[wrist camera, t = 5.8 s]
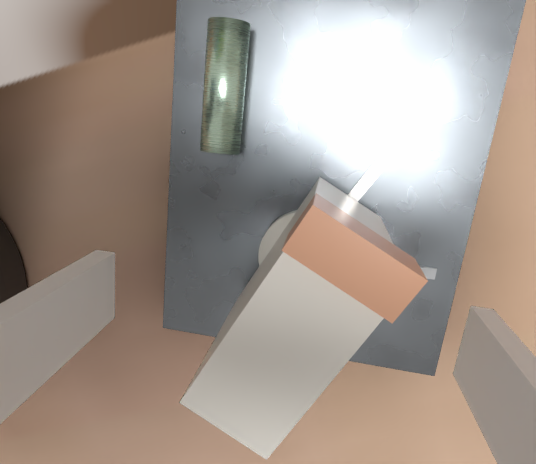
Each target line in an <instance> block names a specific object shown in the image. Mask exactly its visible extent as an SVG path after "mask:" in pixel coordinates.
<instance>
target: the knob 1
mask: <svg viewBox="0 0 536 464" xmlns="http://www.w3.org/2000/svg"><path fill="white" fill-rule="evenodd" d="M258 262H259V267H258V269H257V270H256V272H255V273H254V275H253V276H252V278H251V279H250V281H249V282H248V284H247V285H246V287H245V288H244V290H243V291H242V293H241V294H240V296H239V297H238V299H237V300H236V302H235V304H234V306H233V308H232V309H231V311H230V313H229V315H228V316H227V318H226V320H225V322H224V324H223V325H222V327H221V329H220V331H219V333H218V334H217V336H216V338H215V340H214V341H213V343H212V345H211V347H210V349H209V350H208V352H207V354H206V356H205V358H204V359H203V361H202V363H201V365H200V367H199V368H198V370H197V372H196V374H195V375H194V377H193V379H192V381H191V383H190V384H189V386H188V388H187V390H186V392H185V393H184V395H183V397H182V399H181V401H180V402H179V403H181V404H182V405H184V406H185V407H187V408H188V409H190V410H191V411H193V412H194V413H196V414H197V415H199V416H200V417H202V418H203V419H205V420H207V421H208V422H210V423H211V424H213V425H214V426H216V427H217V428H219V429H220V430H222V431H223V432H225V433H226V434H228V435H229V436H231V437H233V438H234V439H236V440H237V441H239V442H240V443H242V444H243V445H245V446H246V447H248V448H249V449H251V450H252V451H254V452H255V453H257V454H258V455H260V456H262V457H263V458H265V459H266V460H267V459H268V457H269V456H270V455H271V454H272V453H273V451H274V450H275V449H276V448H277V447H278V445H279V444H280V443H281V442H282V441H283V439H284V438H285V437H286V436H287V435H288V433H289V432H290V431H291V430H292V428H293V427H294V426H295V425H296V424H297V422H298V421H299V420H300V419H301V418H302V416H303V415H304V414H305V413H306V412H307V410H308V409H309V408H310V407H311V406H312V404H313V403H314V402H315V401H316V399H317V398H318V397H319V396H320V395H321V393H322V392H323V391H324V390H325V389H326V387H327V386H328V385H329V384H330V383H331V381H332V380H333V379H334V378H335V377H336V375H337V374H338V373H339V372H340V371H341V369H342V368H343V367H344V366H345V364H346V363H347V362H348V361H349V360H350V358H351V357H352V356H353V355H354V354H355V352H356V351H357V350H358V349H359V348H360V346H361V345H362V344H363V343H364V342H365V340H366V339H367V338H368V337H369V336H370V334H371V333H372V332H373V331H374V329H375V328H376V327H377V326H378V325H379V323H380V322H381V321H382V320H383V319H386V320H388V321H389V322H391V323H393V322H394V321H395V320H396V319H397V317H398V316H399V315H400V314H401V313H402V311H403V310H404V309H405V308H406V307H407V306H408V304H409V303H410V302H411V301H412V300H413V298H414V297H415V296H416V295H417V294H418V292H419V291H420V290H421V289H422V288H423V286H424V285H425V284H426V283H427V282H428V280H427V278H426V277H425V275H424V273H423V271H422V270H421V268H420V266H419V265H418V263H417V261H416V260H415V258H413V257H412V256H410V255H409V254H407V253H406V252H404V251H403V250H401V249H400V248H398V247H397V246H395V245H394V244H393V242H392V240H391V238H390V236H389V234H388V231H387V229H386V227H385V225H384V223H383V221H382V219H381V217H380V216H378V215H377V214H375V213H374V212H372V211H371V210H369V209H368V208H366V207H365V206H363V205H362V204H360V203H359V202H357V201H356V200H354V199H353V198H351V197H350V196H348V195H347V194H345V193H344V192H342V191H341V190H339V189H338V188H336V187H335V186H333V185H332V184H330V183H329V182H327V181H325V180H324V179H322V178H321V177H319V179H318V180H317V182H316V183H315V185H314V186H313V188H312V189H311V191H310V192H309V194H308V195H307V196H306V198H305V199H304V201H303V202H302V204H301V205H300V207H299V208H298V210H295V211H291V212H288V213H286V214H284V215H282V216H281V217H279V218H278V219H277V220H276V221H275V222H274V223H272V225H271V226H270V227H269V229H268V230H267V232H266V233H265V235H264V237H263V238H262V241H261V243H260V247H259V253H258Z"/></svg>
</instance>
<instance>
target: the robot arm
mask: <svg viewBox="0 0 536 464" xmlns="http://www.w3.org/2000/svg"><path fill="white" fill-rule="evenodd" d="M114 318H115V252H108V251H101V250H95V251H93V252H91V253H90V254H88V255H86V256H84V257H82V258H81V259H79V260H77V261H75V262H74V263H72V264H70V265H68V266H66V267H65V268H63V269H61V270H59V271H58V272H56V273H54V274H52V275H50V276H49V277H47V278H45V279H43V280H42V281H40V282H38V283H36V284H34V285H33V286H31V287H29V288H27V283H26V276H25V271H24V267H23V263H22V260H21V257H20V254H19V251H18V249H17V247H16V244H15V242H14V240H13V238H12V236H11V234H10V233H9V231H8V229H7V228H6V226H5V225H4V223H3V222H2V220H1V219H0V424H1V423H2V422H3V421H4V420H5V419H6V418H7V417H9V416H10V415H11V414H12V413H13V412H14V411H15V410H16V409H17V408H18V407H19V406H20V405H21V404H22V403H24V402H25V401H26V400H27V399H28V398H29V397H30V396H31V395H32V394H33V393H34V392H35V391H36V390H38V389H39V388H40V387H41V386H42V385H43V384H44V383H45V382H46V381H47V380H48V379H49V378H50V377H52V376H53V375H54V374H55V373H56V372H57V371H58V370H59V369H60V368H61V367H62V366H63V365H64V364H65V363H67V362H68V361H69V360H70V359H71V358H72V357H73V356H74V355H75V354H76V353H77V352H78V351H79V350H81V349H82V348H83V347H84V346H85V345H86V344H87V343H88V342H89V341H90V340H91V339H92V338H93V337H94V336H96V335H97V334H98V333H99V332H100V331H101V330H102V329H103V328H104V327H105V326H106V325H107V324H108V323H110V322H111V321H112V320H113V319H114ZM453 375H454V377H455V379H456V381H457V383H458V385H459V387H460V389H461V391H462V393H463V395H464V397H465V399H466V401H467V403H468V405H469V407H470V409H471V411H472V413H473V415H474V417H475V419H476V421H477V423H478V425H479V427H480V429H481V431H482V434H483V436H484V438H485V440H486V442H487V444H488V446H489V448H490V450H491V452H492V454H493V456H494V458H495V460H496V462H497V464H536V357H535V356H534V355H533V354H532V352H531V351H530V350H529V349H528V348H527V347H526V346H525V344H524V343H523V342H522V341H521V340H520V339H519V338H518V337H517V335H516V334H515V333H514V332H513V331H512V330H511V329H510V327H509V326H508V325H507V324H506V323H505V322H504V321H503V319H502V318H501V317H500V316H499V315H498V314H497V313H496V312H495V310H494V309H489V308H482V307H476V306H470V310H469V314H468V318H467V321H466V325H465V329H464V333H463V337H462V341H461V345H460V348H459V352H458V356H457V360H456V364H455V368H454V371H453Z"/></svg>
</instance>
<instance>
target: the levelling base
mask: <svg viewBox="0 0 536 464" xmlns="http://www.w3.org/2000/svg"><path fill="white" fill-rule="evenodd" d="M525 2H526V0H177V10H176V11H177V12H176V32H175V56H174V79H173V103H172V126H171V150H170V173H169V197H168V220H167V244H166V267H165V291H164V314H163V328H167V329H173V330H179V331H184V332H190V333H196V334H201V335H207V336H212V337H216V336H217V334H218V333H219V331H220V329H221V327H222V325H223V324H224V322H225V320H226V318H227V316H228V315H229V313H230V311H231V309H232V308H233V306H234V304H235V302H236V300H237V299H238V297H239V296H240V294H241V293H242V291H243V290H244V288H245V287H246V285H247V284H248V282H249V281H250V279H251V278H252V276H253V275H254V273H255V272H256V270H257V269H258V267H259V262H258V253H259V247H260V243H261V241H262V238H263V237H264V235H265V233H266V232H267V230H268V229H269V227H270V226H271V225H272V223H274V222H275V221H276V220H277V219H278V218H279V217H281V216H282V215H284V214H286V213H288V212H291V211H295V210H298V208H299V207H300V205H301V204H302V202H303V201H304V199H305V198H306V196H307V195H308V194H309V192H310V191H311V189H312V188H313V186H314V185H315V183H316V182H317V180H318V179H319V177H321V178H322V179H324V180H325V181H327V182H329V183H330V184H332V185H333V186H335V187H336V188H338V189H339V190H341V191H342V192H344V193H345V194H347V195H348V196H350V197H351V198H353V199H354V200H356V201H357V202H359V203H360V204H362V205H363V206H365V207H366V208H368V209H369V210H371V211H372V212H374V213H375V214H377V215H378V216H380V217H381V219H382V221H383V223H384V225H385V227H386V229H387V231H388V234H389V236H390V238H391V240H392V242H393V244H394V245H395V246H397V247H398V248H400V249H401V250H403V251H404V252H406V253H407V254H409V255H410V256H412V257H413V258H415V260H416V261H417V263H418V265H419V266H420V268H421V270H422V271H423V273H424V275H425V277H426V278H427V280H428V282H427V283H426V284H425V285H424V286H423V288H422V289H421V290H420V291H419V292H418V294H417V295H416V296H415V297H414V298H413V300H412V301H411V302H410V303H409V304H408V306H407V307H406V308H405V309H404V310H403V311H402V313H401V314H400V315H399V316H398V317H397V319H396V320H395V321H394V322H393V323H391V322H389V321H388V320H386V319H383V320H382V321H381V322H380V323H379V325H378V326H377V327H376V328H375V329H374V331H373V332H372V333H371V334H370V336H369V337H368V338H367V339H366V340H365V342H364V343H363V344H362V345H361V346H360V348H359V349H358V350H357V351H356V352H355V354H354V355H353V356H352V357H351V358H350V360H349V361H353V362H358V363H364V364H370V365H375V366H381V367H386V368H392V369H398V370H403V371H409V372H415V373H420V374H426V375H431V376H435V372H436V367H437V363H438V359H439V355H440V351H441V347H442V343H443V339H444V335H445V330H446V326H447V322H448V318H449V314H450V310H451V306H452V302H453V298H454V294H455V289H456V285H457V281H458V277H459V273H460V269H461V265H462V261H463V257H464V253H465V248H466V244H467V240H468V236H469V232H470V228H471V224H472V220H473V216H474V212H475V207H476V203H477V199H478V195H479V191H480V187H481V183H482V179H483V175H484V171H485V166H486V162H487V158H488V154H489V150H490V146H491V142H492V138H493V134H494V129H495V125H496V121H497V117H498V113H499V109H500V105H501V101H502V97H503V93H504V88H505V84H506V80H507V76H508V72H509V68H510V64H511V60H512V56H513V52H514V47H515V43H516V39H517V35H518V31H519V27H520V23H521V19H522V15H523V11H524V6H525Z"/></svg>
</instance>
